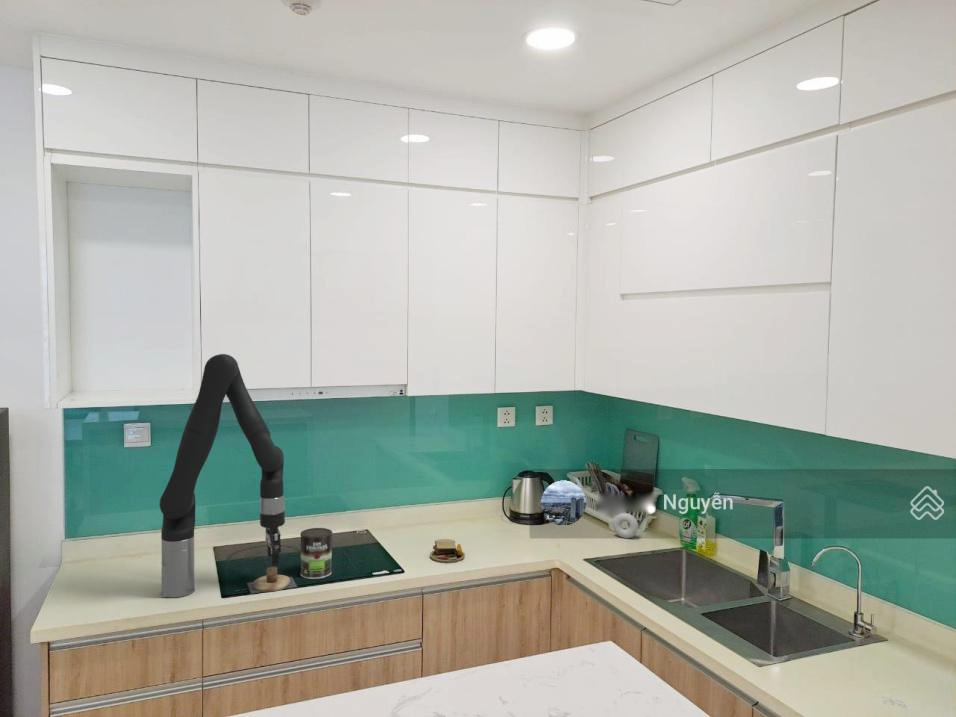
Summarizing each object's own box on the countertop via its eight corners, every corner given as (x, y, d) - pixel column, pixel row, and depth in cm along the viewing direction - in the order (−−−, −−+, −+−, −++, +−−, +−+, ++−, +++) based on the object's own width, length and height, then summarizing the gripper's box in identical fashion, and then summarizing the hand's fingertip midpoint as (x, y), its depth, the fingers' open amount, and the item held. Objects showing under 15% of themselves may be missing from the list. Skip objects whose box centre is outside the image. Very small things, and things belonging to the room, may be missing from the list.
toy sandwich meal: (429, 563, 241) (429, 550, 240) (430, 550, 254) (430, 538, 254) (465, 564, 241) (465, 550, 241) (464, 551, 255) (464, 538, 254)
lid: (256, 594, 211) (256, 577, 210) (251, 581, 220) (251, 565, 220) (292, 588, 215) (292, 572, 215) (286, 576, 225) (286, 560, 225)
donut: (611, 537, 273) (612, 512, 272) (613, 534, 276) (614, 510, 276) (636, 541, 269) (637, 515, 268) (638, 538, 272) (639, 513, 272)
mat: (250, 594, 211) (250, 593, 211) (247, 584, 219) (247, 582, 219) (297, 587, 217) (297, 586, 217) (291, 577, 225) (291, 576, 225)
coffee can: (333, 578, 225) (333, 536, 224) (300, 581, 222) (300, 538, 222) (331, 567, 235) (331, 526, 234) (299, 569, 232) (300, 528, 231)
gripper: (256, 505, 221) (257, 555, 222) (263, 517, 208) (264, 569, 210) (280, 503, 224) (281, 551, 226) (288, 514, 212) (289, 566, 213)
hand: (273, 560), depth 218 cm, fingers open, 8 cm apart
